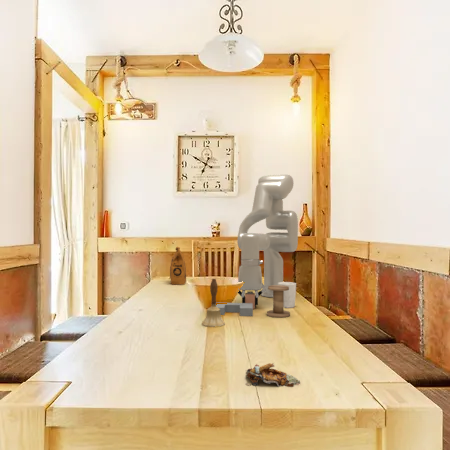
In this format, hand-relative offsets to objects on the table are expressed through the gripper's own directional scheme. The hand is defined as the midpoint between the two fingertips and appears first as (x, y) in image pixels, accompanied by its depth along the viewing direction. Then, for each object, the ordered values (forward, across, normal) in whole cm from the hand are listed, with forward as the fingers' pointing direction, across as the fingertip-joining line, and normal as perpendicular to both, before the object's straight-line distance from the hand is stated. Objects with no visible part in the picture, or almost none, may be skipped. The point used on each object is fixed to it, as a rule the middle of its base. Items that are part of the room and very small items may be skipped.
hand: (249, 306), depth 163 cm
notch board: (+1, +7, +10) cm, 12 cm away
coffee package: (+1, +43, -67) cm, 80 cm away
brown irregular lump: (+1, -4, +77) cm, 77 cm away
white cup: (+1, -16, -5) cm, 17 cm away
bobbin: (+1, -11, +12) cm, 16 cm away
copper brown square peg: (+1, 0, 0) cm, 1 cm away
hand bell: (+1, +13, +28) cm, 31 cm away
